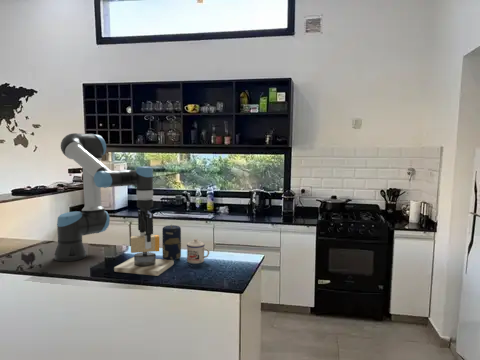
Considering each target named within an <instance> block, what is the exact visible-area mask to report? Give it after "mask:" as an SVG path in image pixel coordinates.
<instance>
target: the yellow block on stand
mask: <svg viewBox="0 0 480 360" xmlns="http://www.w3.org/2000/svg"><path fill="white" fill-rule="evenodd" d="M155 252H160V235H159V234H152V235H151V248H149V249H145V236H140V235H132V236H130V253H131V254H134V256H133V257H134V264H135V265H136V266H151V265H154V264H155V263H156V259H157V258H156V257H157V254H156V253H155Z"/></svg>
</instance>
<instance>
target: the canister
mask: <svg viewBox="0 0 480 360" xmlns="http://www.w3.org/2000/svg"><path fill="white" fill-rule="evenodd" d="M181 257H182V228H181V226H179V225H173V224H171V225H164V226H163V227H162V259H163V260H174V261H175V260H179V259H180V258H181Z"/></svg>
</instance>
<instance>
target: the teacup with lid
mask: <svg viewBox="0 0 480 360" xmlns="http://www.w3.org/2000/svg"><path fill="white" fill-rule="evenodd" d="M205 245H206V244H205V243H204V242H202V241H200V240H199V239H198V238H193V240H191V241H189V242H187V244H186V248H187V250H186V255H187V256H186V258H187V259H186V262H187V263H189V264H202V263H203V262H205V259H206V258H208V257H209V255H210V249H208V248H207V247H205ZM205 251H206V252H207V253H206V255H205Z"/></svg>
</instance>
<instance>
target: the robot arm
mask: <svg viewBox="0 0 480 360" xmlns="http://www.w3.org/2000/svg"><path fill="white" fill-rule="evenodd" d="M60 149H61V150H60V151H61V152H62V154H63V155H64V156H65V157H66V158H67V159H69V160H73V161H74V162H75V163H77V165H79V166H80V167H81V168H82V181H83V201H84V207H83V208H82V209H81V211H80V210H79V211H77V210H75V211H68V212H64V213H61V214H59V215H58V217H57V221H56V227H57V245H56V248H55V252H54V256H53V257H54V261H57V262H73V261H74V262H75V261H79V260H83V259H85V258H87V251H86V248H85V246H84V242H83V236H88V235H94V234H100V233H103V232H105V231H106V230H107V229H108V228H109V226H110V223H111V222H110V221H111V220H110V219H111V218H110V214H109V213H108V211H106V210H105V207H104V206H103V205H102V190H101V189H102V188H104V189H106V188H107V189H108V188H114V187H115V188H116V187H127V186H132V187H134V186H135V187H136V207H137V208H139V209H138V210H137V220H138V221H137V225H138V226H137V229H138V231H139V233H140V234H139V236H145V249H149V248H151V235H154V213H152V212H151V208H153V207H154V199H153V198H154V193H155V192H154V188H153V187H154V174H153V172H154V171H153V167H152V166H136V168H135V169H134V170H133V169H123V170H121V169H120V170H111V169H110V168H109V167H108V166H106V165H105V164H104V163H102V162H101V160H102V159H103V156H104V155H106V152H107V144H106V141H105V139H104V138H103V136H102V135H100V134H94V133H69V134H67V135H65V136H64V137H63V138H62V140H61V142H60Z"/></svg>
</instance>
